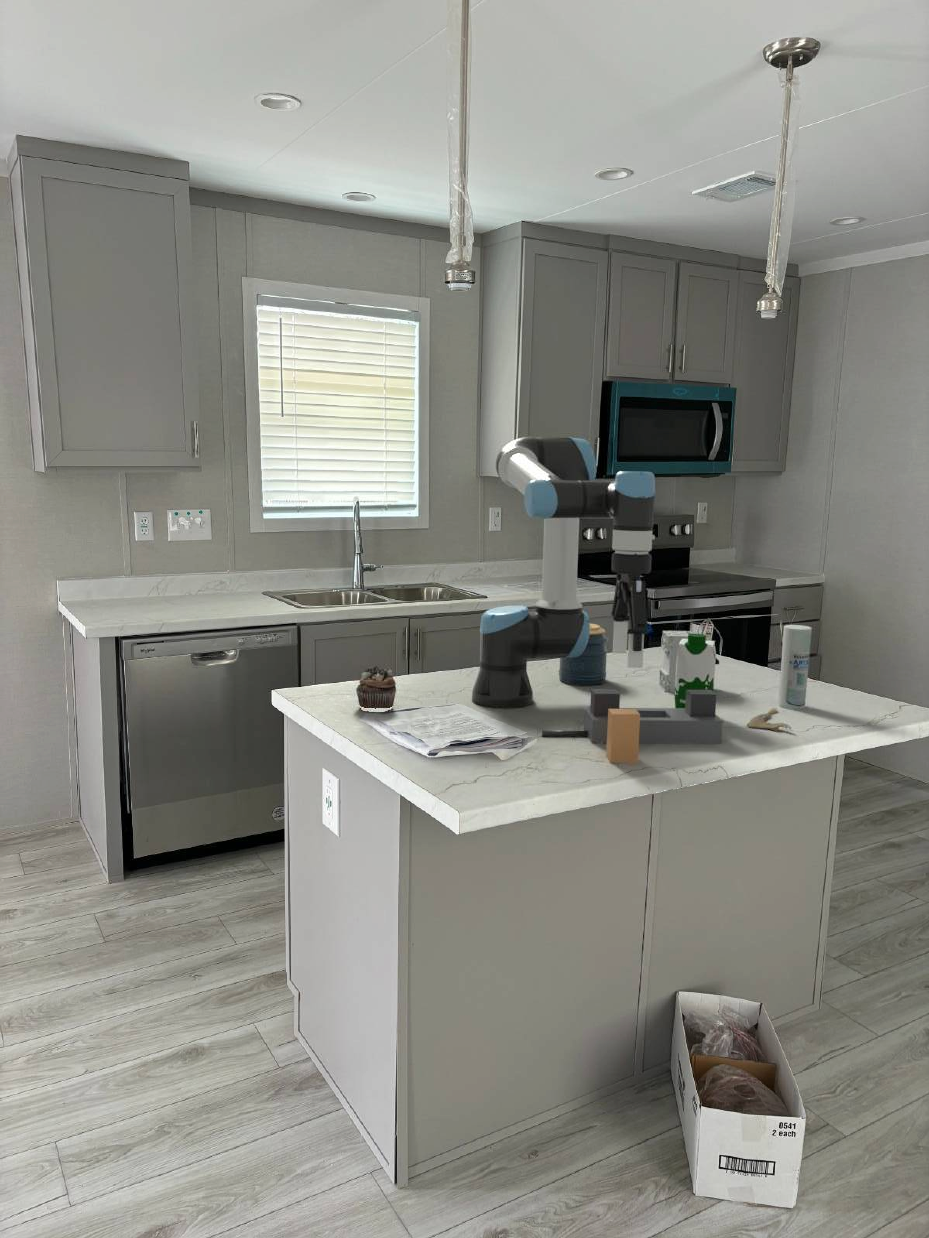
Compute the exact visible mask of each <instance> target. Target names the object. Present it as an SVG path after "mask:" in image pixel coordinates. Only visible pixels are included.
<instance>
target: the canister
mask: <svg viewBox="0 0 929 1238" xmlns="http://www.w3.org/2000/svg"><path fill="white" fill-rule="evenodd" d="M589 624H590V633H589V639H588V643H587V646H586V648H585V650H584V651H583V653H582V654H581V655H580V656H578V657H571V658H565V659H561V658H559V670H558V677H559V680H560V681H561V682H563V683H565V684H569V685H575V686H595V685H601V684H604V683H606V678H607V654H608V650H607V647H606V645H607V644H606V643H608V641H609V638H607V636H605V633H606V629H604V628H603V627H601V626H600V625H599V624H595V623H589Z"/></svg>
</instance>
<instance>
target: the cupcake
mask: <svg viewBox="0 0 929 1238" xmlns="http://www.w3.org/2000/svg"><path fill="white" fill-rule="evenodd" d="M363 671H364V672H363V673H361V678H360V680H359V684H358V685H357V687H356V688H355V691H356V692H355V693H356V695H357V701H358V705H360V706H361V707H364V708H375V709H376V708H390V707H392V706H393V707H394V703H395V697H396V694H397V686H396V685H397V684H396V681H395V679H394V677H393V671H392V670H391V669H389V668H387V669H386V668H381V669H379V667H378V666H375V667H373V668H367V669H364V670H363Z"/></svg>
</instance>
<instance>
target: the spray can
mask: <svg viewBox="0 0 929 1238" xmlns="http://www.w3.org/2000/svg"><path fill="white" fill-rule="evenodd" d="M812 630H813V629H812V627H810V626H808V625H801V624H800V625H798V624H786V625H784V626H783V635H782V649H781V662H780V663H781V665H780V676H779V678H780V679H779V690H778V691H779V692H778V693H779V694H778V706H779V707H780V708H784V709H788V710H803V709H805V706H806V697H807V687H808V675H809V664H810V654H811V643H812V642H811V641H812Z"/></svg>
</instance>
